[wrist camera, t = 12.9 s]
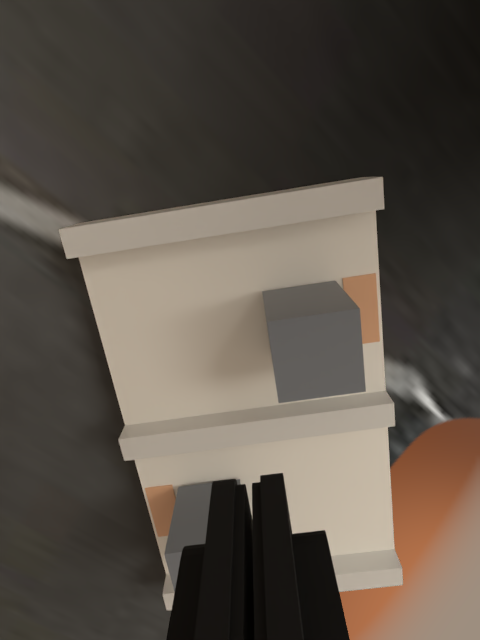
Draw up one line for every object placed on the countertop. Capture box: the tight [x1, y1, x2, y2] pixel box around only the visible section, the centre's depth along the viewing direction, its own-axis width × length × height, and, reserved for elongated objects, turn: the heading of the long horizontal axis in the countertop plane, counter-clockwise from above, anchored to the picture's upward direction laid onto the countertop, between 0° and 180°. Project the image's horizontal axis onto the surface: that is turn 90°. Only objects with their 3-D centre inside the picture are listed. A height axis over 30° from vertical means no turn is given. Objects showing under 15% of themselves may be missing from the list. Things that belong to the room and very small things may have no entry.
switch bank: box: [58, 177, 403, 610], centre depth 27 cm, size 16×26×4 cm, turn 9°
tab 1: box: [164, 479, 241, 592], centre depth 26 cm, size 4×4×5 cm
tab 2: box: [262, 281, 366, 403], centre depth 22 cm, size 4×4×5 cm
